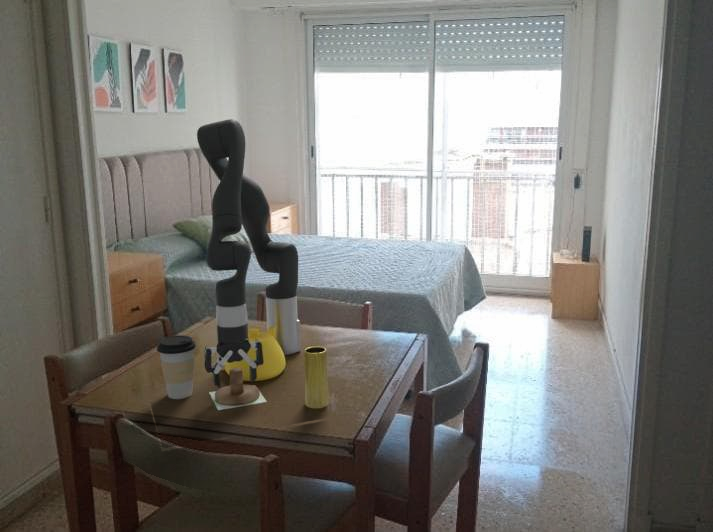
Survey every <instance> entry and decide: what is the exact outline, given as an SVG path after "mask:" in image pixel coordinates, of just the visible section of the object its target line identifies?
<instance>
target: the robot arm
mask: <svg viewBox="0 0 713 532" xmlns="http://www.w3.org/2000/svg"><path fill="white" fill-rule="evenodd" d="M196 139H197V143H198V146H199V149H200V151H201V153H202V154H203V157H204V158H205V160H206V162H207V163H208V165H209V166H210V168H211V169H212V171H213V172H214V174H215V176H216V177H217V179H218V180H219V183H218V185H217V187H216V189H215V191H214V194H213V197H212V202H211V215H212V217H211V219H212V226H211V227H212V228H211V234H210V239H209V241H208V242H209V243H208V245H207V249H206V254H205V261H206V264H207V266H208V268H209V269H210V270H212V271H214V272H215V271H217V272H218V271H219V272H220V271H236V272H235V274H234V275H232V276H231V277H227V278H223V279H220V280H218V281H217V282H216V284H215V299H216V301H215V302H216V310H215V317H216V318H215V320H216V337H217V345H216V346H211V347H210V346H209V345H207V346H205V347H204V369H205V370H206V372H207V373H212V380H213V383H214V386H215V387H217V389H218V388H219V389H221V388H222V387H221V375H220V374H221V373H220V371H221V370H222V368H224V367H225V363H226V362H229V363H232V362H234V361H237V362H239V361H241V360H243V359H245V360H246V361H247V363H249V364H250V366H249V370H250V381H249V382H251V383H255V382H256V381H255V380H256V379H257V370H256V368H257V366H259V365H262V364H263V363H264V361H263V352H262V343H261V342H260V341H259V340H255V342H250V343H249V339H248V330H249V322H248V321H249V316H248V309H247V303H246V302H247V301H246V300H247V299H246V278H247V273H248V269H249V266H250V262H251V258H252V257H251V256H252V251H253V253H254V256H255V258H256V262H257V263H258V266H259V267H260V269H261V270H262V271H264V272H266V273H270V274H277V275H278V281H277V282H274V283H270V284H269V285H267V286H266V287H265V291H264V292H265V309H266V328H267V329H266V332H267V331H268V328H270V327H276V341H277V342H278V344H279V345H280V347H281V349H282V351H283V353H284V356H288V355H292V354H295V353H297V352H302V349H301V347H302V344H301V343H302V342H301V321H300V320H299V318H298V297H297V296H298V294H297V293H298V292H297V290H298V284H299V253H298V248H297V247H296V246H295V245H294V244H293V243H290V242H280V241H279V242H278V241H273V240H272V239H271V237H270V235H269V233H268V231H267V226H268V225H267V224H268V220H269V218H270V213H271V212H270V205H269V203H268V200H267V198H266V195H265V193H264V191H263V189H262V188H261V186H260V185H259V184H258V183H257V182H256V181H255V180H253V179H252V178H251V177H249V176H247V175H246V174H244V169H245V168H244V165H245V157H246V155H245V154H246V136H245V132H244V129H243V126H242V125H241V123H240V122H239V121H238V120H237V119H234V118H230V119H229V118H228V119H224V120H220V121H216V122H215V121H214V122H211V123H207V124H204V125H202V126H200V127H199V128H198V129H197V131H196ZM242 227H243V229H244V232H245V233H246V235H247V238H248V240H249V243H250V245H251V247H250V245H249V244H248V243H247V242H246V240H245V241H244V240H226V241H225V240H224V239H225V238H227V237H230V236H233V235H237V234H238V233H239V232H241V230H242ZM223 240H224V241H223ZM251 248H252V250H251ZM251 347H253V349H254V350H256V360H254V361H253V360H252V359H251V358H250V357H249V356H248V354H247V353H248V351H249V350H250V348H251ZM216 352H217V354H218V355H219V356H218V357H217V359H216V360H215V363H214V365H213V366H212V357H214V356H215V353H216ZM223 361H224V362H223Z"/></svg>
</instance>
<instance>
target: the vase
mask: <svg viewBox="0 0 713 532" xmlns="http://www.w3.org/2000/svg"><path fill="white" fill-rule="evenodd" d="M303 353H304V406H305V407H307V408H310V409H323V408H325V407H328V406H329V405H330V393H329V383H328V381H329V380H328V367H327V366H328V364H327V361H328V360H327V349H326V348H325V347H323V346H318V345H317V346H309V347H307V348H305V349H304V352H303Z"/></svg>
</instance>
